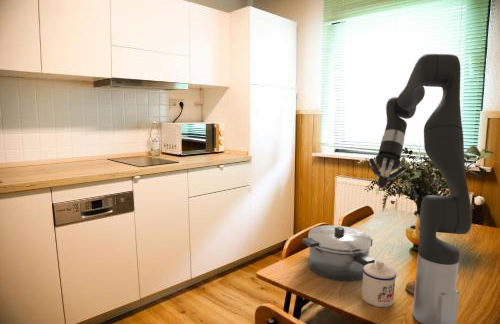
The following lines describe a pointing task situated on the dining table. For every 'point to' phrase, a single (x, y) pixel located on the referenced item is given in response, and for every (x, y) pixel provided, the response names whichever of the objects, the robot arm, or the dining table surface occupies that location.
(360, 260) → the cooker pot
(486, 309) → the dining table surface
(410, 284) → the pastry
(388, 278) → the teacup with lid
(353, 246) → the cooker lid
